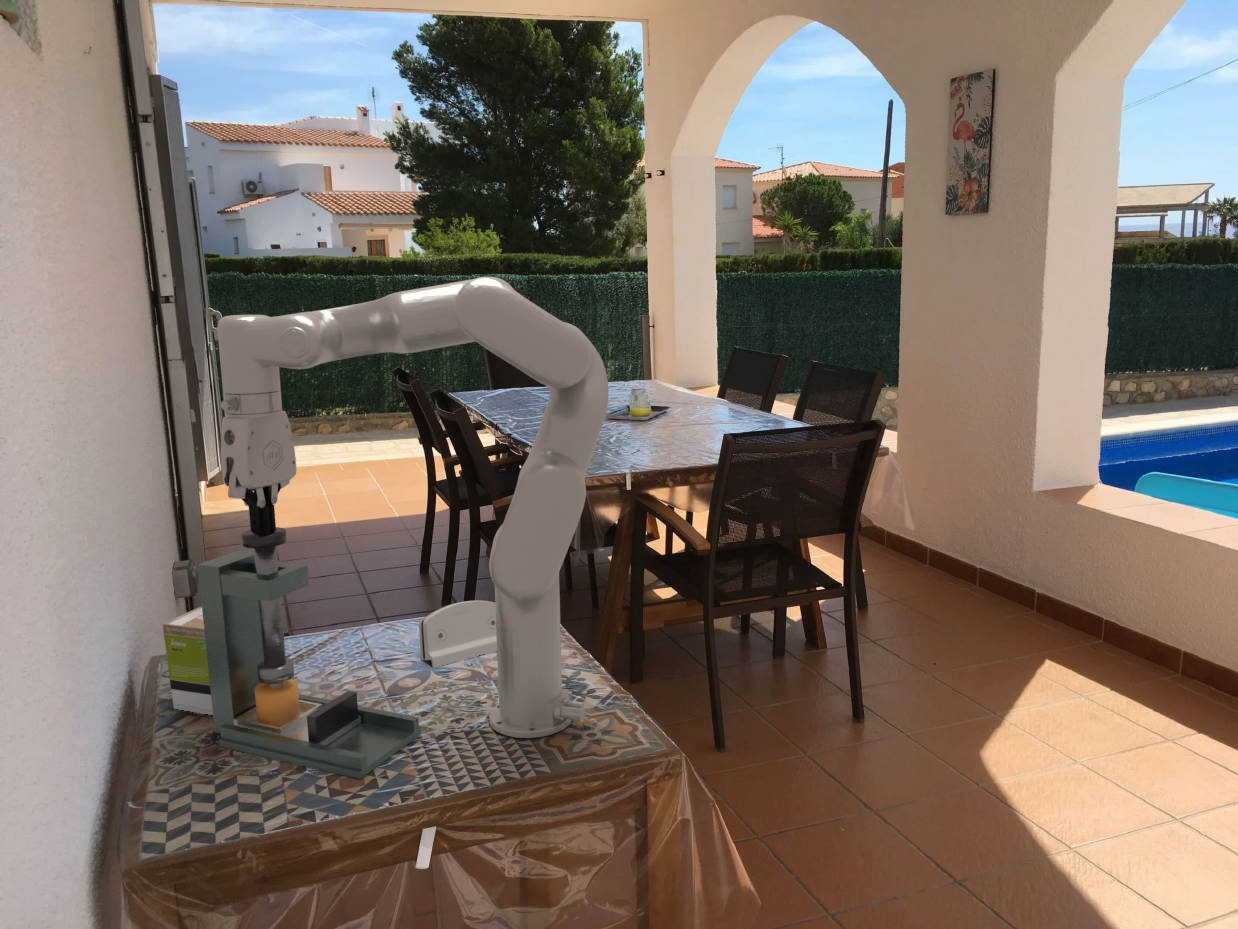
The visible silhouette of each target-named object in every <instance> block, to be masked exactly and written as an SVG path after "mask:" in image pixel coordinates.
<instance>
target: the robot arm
mask: <svg viewBox="0 0 1238 929" xmlns="http://www.w3.org/2000/svg"><path fill="white" fill-rule="evenodd" d="M217 338H218V348H219V349H218V350H219V361H220V362H219V364H220V373H221V383H222V385H221V386H222V394H223V400H221V402H220V407H221V409H222V411H224V416H223V417H222V423H221V431H220V432H221V433H220V464H221V473H222V474H221V475H222V480H223V483H224V485H225V486H226V487H228V490H227V496H228V498H230V499H237V500H242V501H243V502H244V505H245V507H248V515H249V527H250V530H251V532H252V533H259V534H269V533H270V532H271V533H272V532H275V531H276V527H277V525H276V524H277V523H276V513H275V504H277V502H278V498H279V496H278V495H279V493H280V491H281V489H283V488H285V487H287V486H288V485H289V484H290V483H291V480H292V479H294V478H295V476H296V474H297V459H296V457H297V456H296V451H295V444H294V437H293V434H292V433H293V432H292V427H291V424H290V420H289V416H288V414H287V412H286V411H285V410H283V405H282V403H283V401H282V390H281V378H280V377H281V376H280V368H284V369H285V368H286V369H293V370H304V369H311V368H313V367H316V366H318V365H321V364H325V363H329V362H333V361H338V360H339V361H340V360H344V359H350V358H356V357H362V356H368V355H375V354H376V355H377V354H383V353H396V354H413V353H419V352H426V351H429V350H435V349H440V348H446V347H452V346H457V345H458V346H459V345H463V344H468V343H475V342H476V343H477V344H479V345H480V346H482V347H483V348H484V349H486V350H487V351H489V352H491V353H492V354H494V355H495V356H497V357H498V358H500V359H501V360H503V361H505V362H507V363H508V364H510V365H511V366H513V367H515V368H516V369H517V370H520V371H521V372H522V373H524V374H525V375H527V376H529V377H530V378H532V379H533V380H535V381H536V382H538V383H540V384H541V385H545V386H547V387H548V388H549V394H548V400H547V405H546V407H545V410H544V412H543V413H544V414H543V416H542V419H541V422H540V425H539V429H538V431H537V434H536V436H535V439H534V441H533V444H532V446H531V449H530V452H529V454H528V456H527V458H526V460H525V462H524V464H523V465H522V467H521V469H520V471H519V475H518V478H517V483H516V486H515V489H514V493H513V495H512V499H511V502H510V504H509V507H508V509H507V512H506V514H505V518H504V520H503V523H502V524H501V525H500V527H499V528H498V529H497V531H496V533H495V535H494V538H493V540H492V546H491V550H490V556H489V560H488V561H489V563H488V567H489V568H488V571H489V574H490V578H491V581H492V583H493V584H494V600H495V601H494V602H495V612H496V638H497V652H496V656H497V660H496V661H497V662H496V663H497V680H498V682H497V683H498V703H497V704H496V705H495V706H494V707H493V708H492V709H491V710H490V712H489V715H488V718H489V725H490V727H491V728H492V729H493V731H496V732H497V733H499V734H501V735H504V736H506V737H507V736H508V737H510V738H518V739H535V738H542V737H546V736H550V735H553V734H556V733H558V732H559V733H560V732H561V731H563V730H565V728H567V727H568V726H569V725H570V724H571V723H572V721H573V722H578V723H579V722H580V723H583V721H584V720H585V718H586V710H585V702H583V701H576V700H575V701H574V700H571V698H570V696H569V689H568V688H563V680H562V679H563V678H562V642H561V639H562V638H561V637H562V636H561V602H560V601H561V597H560V596H561V595H560V570H561V569H562V566H563V563H564V561H565V558H566V557H567V556H566V555H567V553H568V550H569V547H570V545H571V543H572V541H573V537H574V535H575V532H576V530H577V527H578V524H579V522H580V519H581V517H582V513H583V510H584V507H585V502H586V496H587V487H586V476H587V472H588V468H589V466H590V463H591V460H592V457H593V455H594V452H595V450H596V447H597V443H598V440H599V437H600V434H601V431H602V428H603V425H604V422H605V418H606V414H607V411H608V407H609V406H608V405H609V391H610V390H609V381H608V376H607V375H608V374H607V371H606V368H605V364H604V361H603V359H602V358H601V355H600V354H599V352H598V349H596V347H595V346H594V344H593V343H592V342H591V341H590V339H589V338H588V337H587V336H586V335H585V333H584V332H583V331H582V330H580V329H579V328H578V327H577V326H575V325H574V324H572V323H569V322H564V321H562V320H561V319H559V318H558V317H556V316H555V315H553V314H551V313H549V312H548V311H546V310H545V309H544V308H542V307H540V306H538V305H536V304H535V303H534V302H533V301H530V300H529V299H528V298H527V297H525V296H523V295H522V294H521V293H519V292H517V291H516V290H515V289H514V288H513V287H512V285H511V284H510V283H508V282H507V281H506V280H504V279H502V278H500V277H496V276H478V277H476V278H473V279H472V278H471V279H467V280H466V279H465V280H459V281H454V282H449V283H443V284H438V285H432V286H426V287H419V288H413V289H408V290H403V291H398V292H393V293H390V294H387V295H385V296H383V297H381V298H379V299H374V300H371V301H366V302H360V303H356V304H350V305H345V306H338V307H333V308H327V309H326V308H325V309H319V310H313V311H304V312H297V313H291V314H290V313H289V314H284V315H279V316H278V315H277V316H269V315H266V314H233V315H232V314H231V315H226V316H223V317H221V318H220V319H219V320H218V322H217Z"/></svg>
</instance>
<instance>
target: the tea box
mask: <svg viewBox="0 0 1238 929" xmlns="http://www.w3.org/2000/svg"><path fill="white" fill-rule="evenodd" d="M162 630H163V638H164V645H165V647H164V648H165V651H166V660H167V668H168V674H169V685H170V691H171V697H172V704H173V709H174V710H176V709H178V710H177V711H181V710H184V711H183V712H186V711H190V712H189V713H192V712H194V713H193V714H199V713H200V714H199V715H205V714H208V715H207V716H211V715H213V709H212V699H211V690H210V680H209V670H208V660H207V651H206V641H205V631H204V621H203V612H202V605H200V606H199V607H197V608H194V609H192V610H190V611H188V612H186V613H184V614H182V615H179V616H177V617H175V618H172V619H170V620H168V621H166V622H164V623H162ZM195 712H196V713H195Z"/></svg>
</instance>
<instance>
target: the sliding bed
mask: <svg viewBox="0 0 1238 929" xmlns="http://www.w3.org/2000/svg"><path fill="white" fill-rule="evenodd" d="M358 703H359V702H358V692H356V691H353V690H347V691H346V692H344V693H342V694H340V695H339V696H337V697H335V698H334V699H332V701H331V702H329V703H327V704H326V705H324V706H322V704H318V703H313V702H308V701H303V700H299V706H300V716H298V717H297V718H295V719H293V720H292V721H290V722H288V723H287V724H285V725H283V726H279V727H276V726H272V725H267V724H262V723H258V721H257V711H256V707H255V708H253V709H251V710H249V711H247V712H246V713H244V714H242V715H240V716H238V717H237V718H235V719H233V720H234V725H235V726H239V727H244V728H248V729H253V730H258V731H262V732H267V733H271V734H276V735H280V736H285V737H289V738H294V739H298V740H303V741H307V742H312V743H316V744H321V745H325V746H326V745H328V744H329V743H331V742H332V741H334V740H335V739H337V738H338V737H340V736H341V735H343V734H344V733H346V732H347V731H349V730H350V729H352V728H353V727H355V726H356V725H358V724H359V723H361V716H358V706H359V704H358Z"/></svg>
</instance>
